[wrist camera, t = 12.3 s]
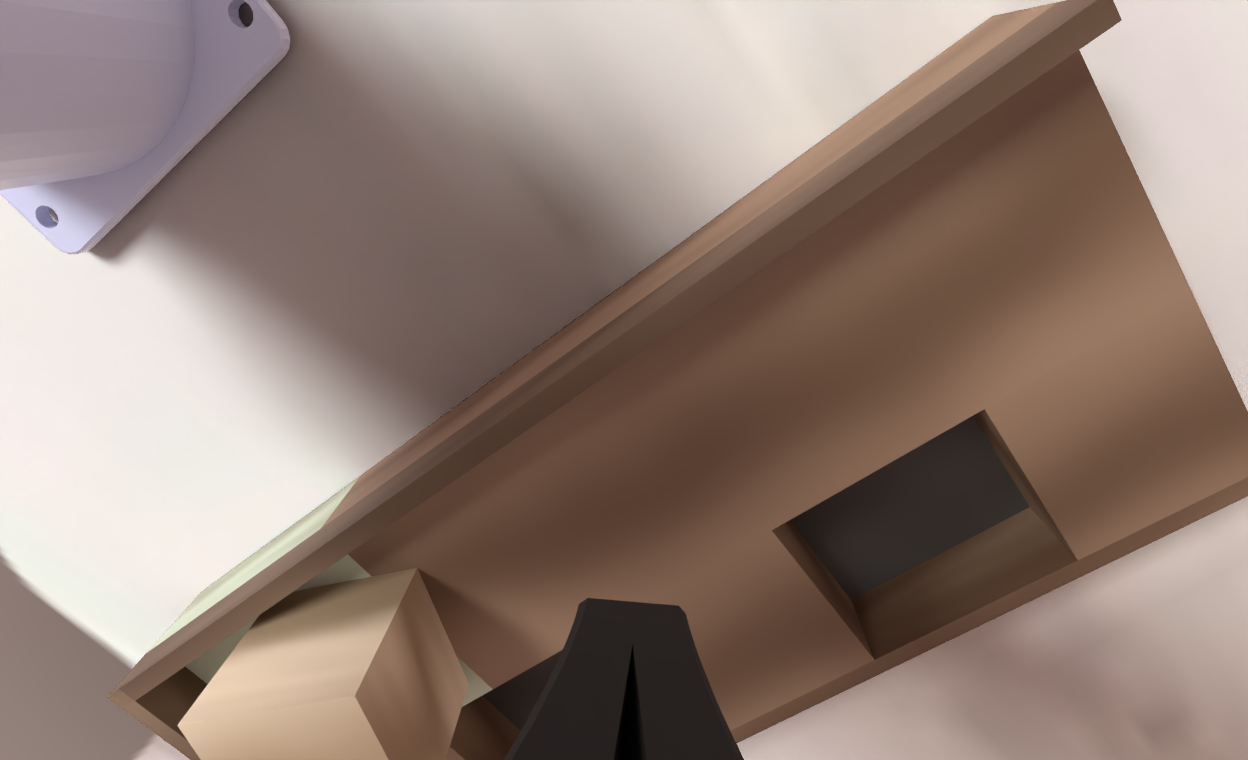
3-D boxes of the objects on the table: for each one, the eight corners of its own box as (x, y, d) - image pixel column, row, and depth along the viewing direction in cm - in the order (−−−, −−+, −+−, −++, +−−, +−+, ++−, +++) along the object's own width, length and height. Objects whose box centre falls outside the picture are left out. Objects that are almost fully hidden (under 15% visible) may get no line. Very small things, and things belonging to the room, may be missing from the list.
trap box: (201, 591, 21) (107, 697, 18) (992, 16, 14) (1108, -9, 11) (462, 811, 25) (429, 936, 21) (1198, 430, 18) (1340, 518, 14)
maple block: (274, 594, 18) (177, 725, 14) (417, 568, 17) (354, 696, 14) (335, 705, 19) (262, 849, 16) (468, 683, 19) (424, 827, 15)
